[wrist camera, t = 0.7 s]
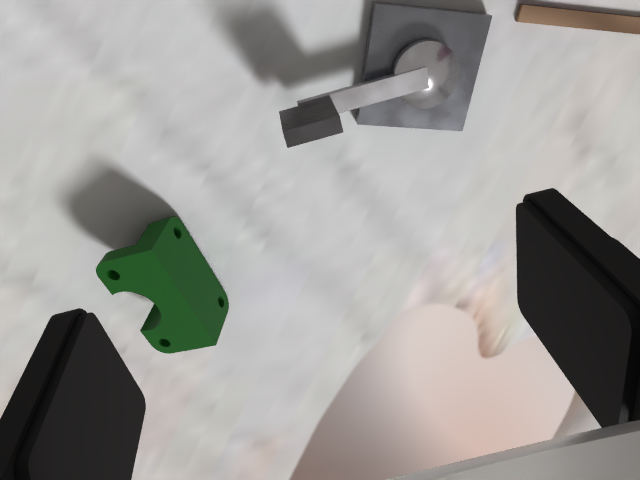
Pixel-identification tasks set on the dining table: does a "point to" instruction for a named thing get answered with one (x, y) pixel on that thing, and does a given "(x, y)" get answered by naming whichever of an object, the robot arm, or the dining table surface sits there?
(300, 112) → the crank
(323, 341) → the dining table surface
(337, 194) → the dining table surface
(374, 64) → the winch base
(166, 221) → the clamp
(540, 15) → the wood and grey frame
